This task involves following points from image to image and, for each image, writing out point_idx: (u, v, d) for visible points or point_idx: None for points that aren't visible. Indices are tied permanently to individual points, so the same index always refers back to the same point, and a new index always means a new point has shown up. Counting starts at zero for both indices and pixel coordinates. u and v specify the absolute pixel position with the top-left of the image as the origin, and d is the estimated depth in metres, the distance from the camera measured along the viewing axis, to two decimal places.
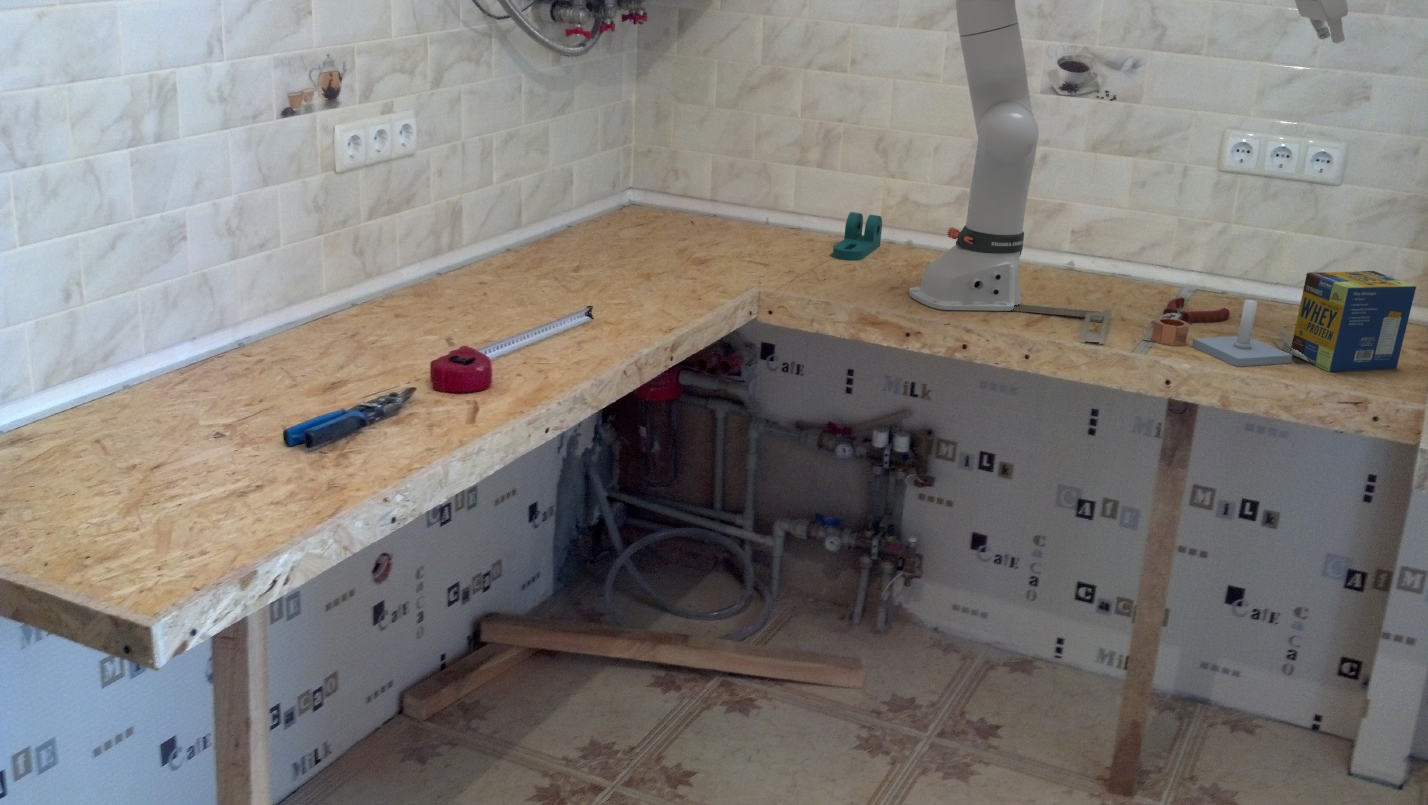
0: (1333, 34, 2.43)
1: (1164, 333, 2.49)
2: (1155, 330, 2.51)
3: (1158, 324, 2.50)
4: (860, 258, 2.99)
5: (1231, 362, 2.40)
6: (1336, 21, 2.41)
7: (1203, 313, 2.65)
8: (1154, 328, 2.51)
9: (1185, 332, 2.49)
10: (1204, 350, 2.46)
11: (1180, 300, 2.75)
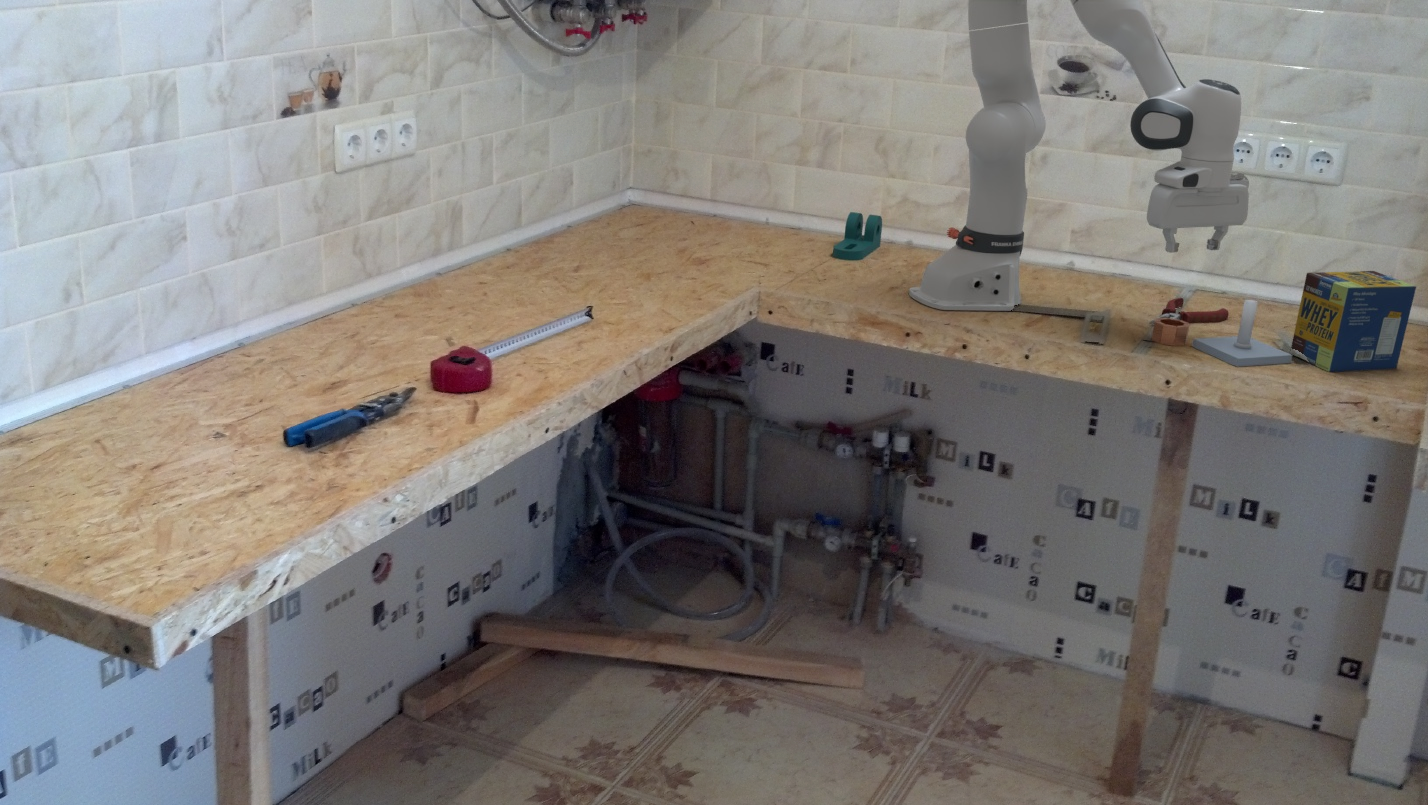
0: (1166, 241, 2.44)
1: (1164, 333, 2.49)
2: (1155, 330, 2.51)
3: (1158, 324, 2.50)
4: (860, 258, 2.99)
5: (1231, 362, 2.40)
6: (1167, 230, 2.42)
7: (1201, 313, 2.65)
8: (1154, 328, 2.51)
9: (1185, 332, 2.49)
10: (1204, 350, 2.46)
11: (1179, 300, 2.74)
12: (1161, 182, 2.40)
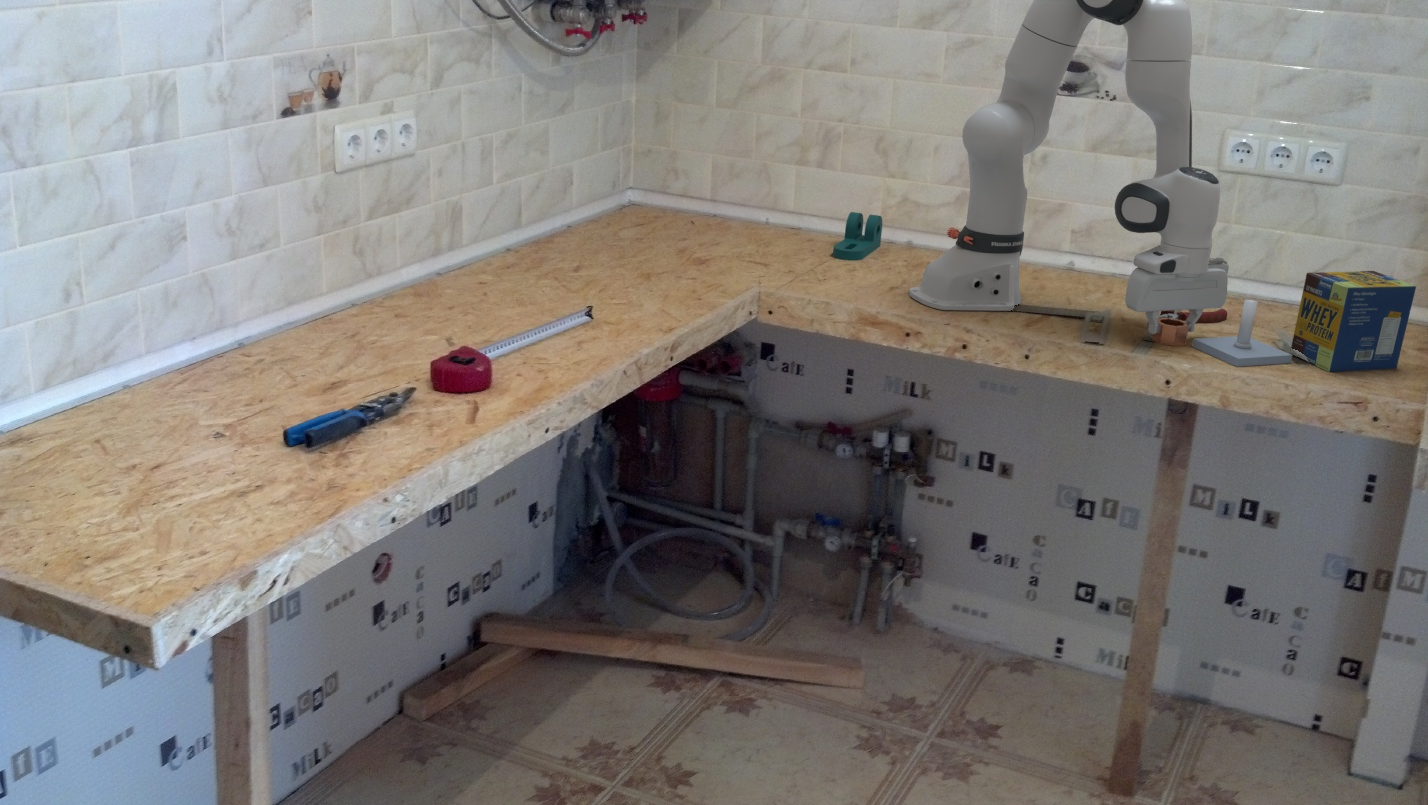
0: (1149, 322, 2.50)
1: (1164, 333, 2.49)
2: None
3: None
4: (860, 258, 2.99)
5: (1231, 362, 2.40)
6: (1150, 313, 2.48)
7: None
8: None
9: (1185, 332, 2.49)
10: (1204, 350, 2.46)
11: None
12: (1139, 266, 2.45)
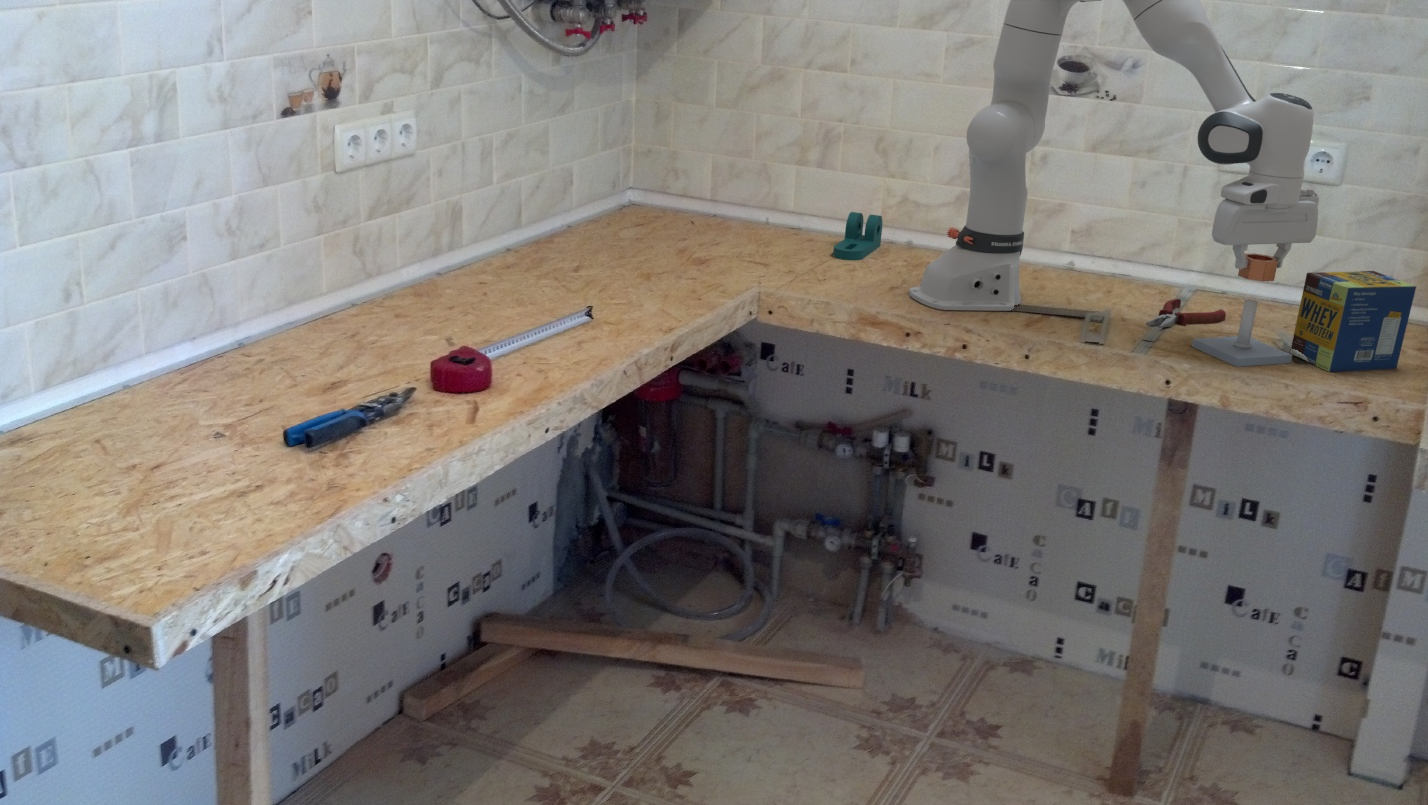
0: (1236, 257, 2.39)
1: (1252, 269, 2.38)
2: None
3: None
4: (860, 258, 2.99)
5: (1231, 362, 2.40)
6: (1237, 247, 2.37)
7: (1198, 314, 2.64)
8: None
9: (1274, 267, 2.38)
10: (1204, 350, 2.46)
11: (1176, 301, 2.74)
12: (1228, 197, 2.34)
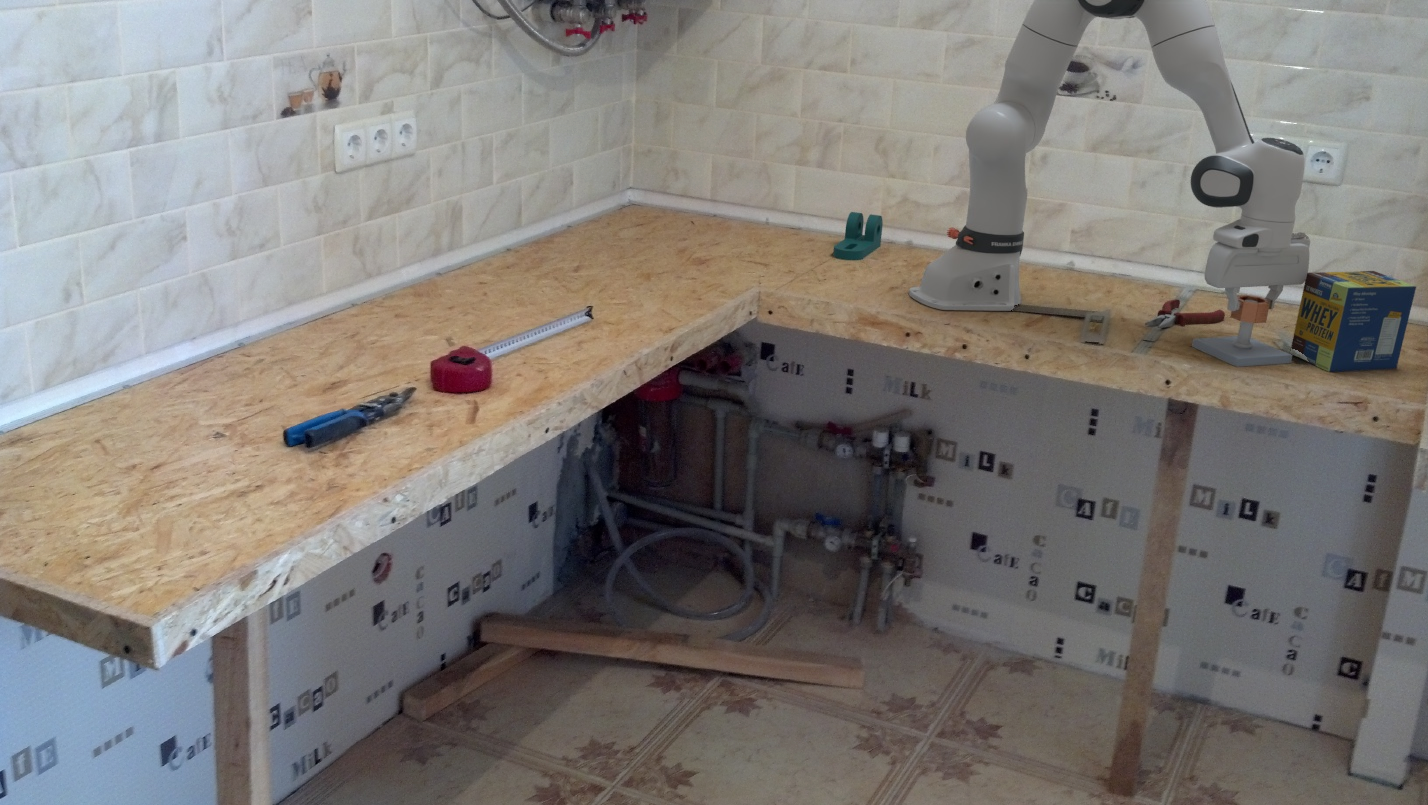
0: (1228, 299, 2.41)
1: (1244, 310, 2.40)
2: None
3: None
4: (860, 258, 2.99)
5: (1231, 362, 2.40)
6: (1229, 289, 2.40)
7: (1197, 315, 2.64)
8: None
9: (1266, 309, 2.40)
10: (1204, 350, 2.46)
11: (1175, 302, 2.73)
12: (1220, 241, 2.37)
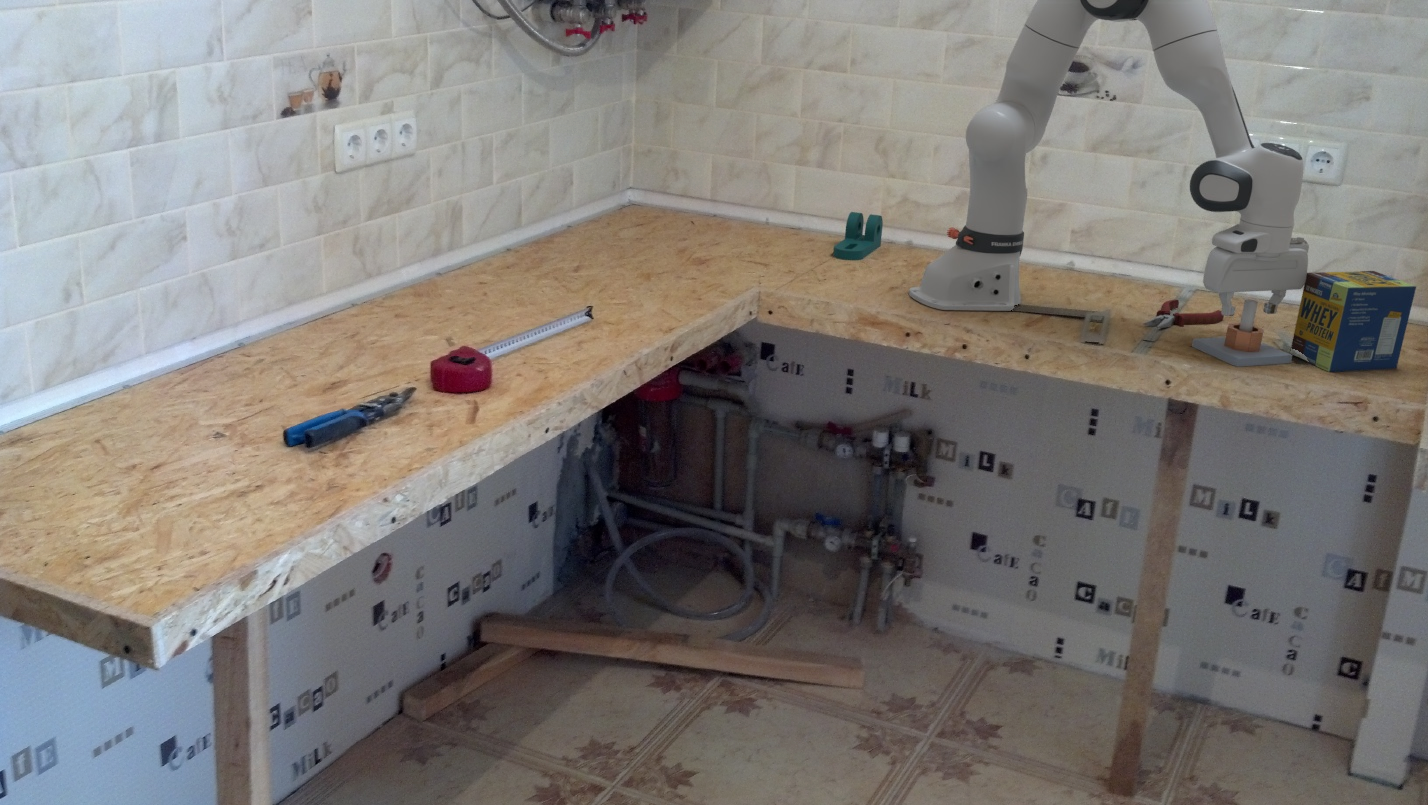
0: (1222, 304, 2.41)
1: (1238, 339, 2.42)
2: (1228, 336, 2.44)
3: (1232, 330, 2.43)
4: (861, 258, 2.99)
5: (1231, 362, 2.40)
6: (1223, 294, 2.39)
7: (1196, 315, 2.64)
8: (1227, 334, 2.44)
9: (1260, 338, 2.42)
10: (1204, 350, 2.46)
11: (1174, 302, 2.73)
12: (1219, 246, 2.37)
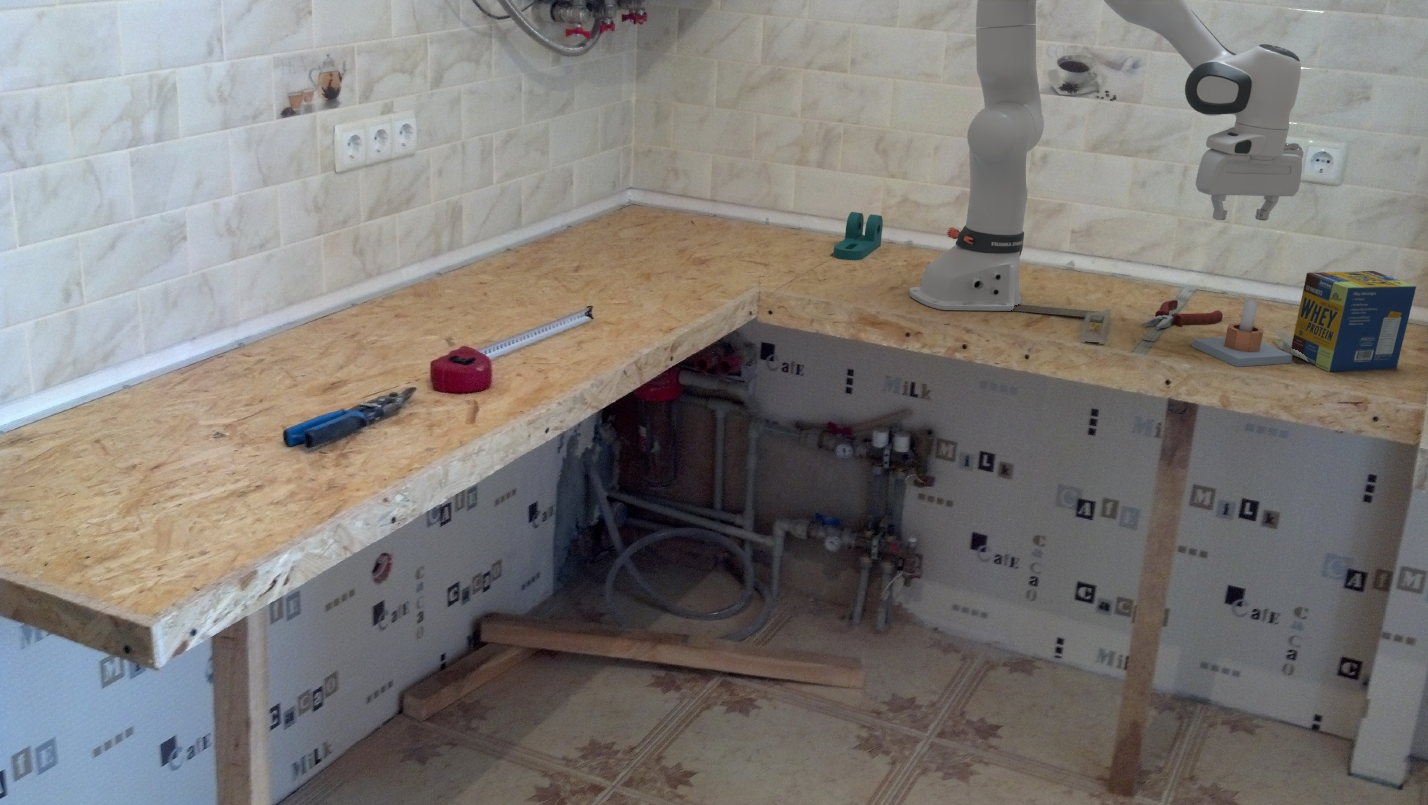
0: (1214, 208, 2.40)
1: (1238, 339, 2.42)
2: (1228, 336, 2.44)
3: (1232, 330, 2.43)
4: (861, 258, 2.99)
5: (1231, 362, 2.40)
6: (1216, 197, 2.38)
7: (1195, 315, 2.63)
8: (1227, 334, 2.44)
9: (1260, 338, 2.42)
10: (1204, 350, 2.46)
11: (1173, 302, 2.73)
12: (1213, 147, 2.35)
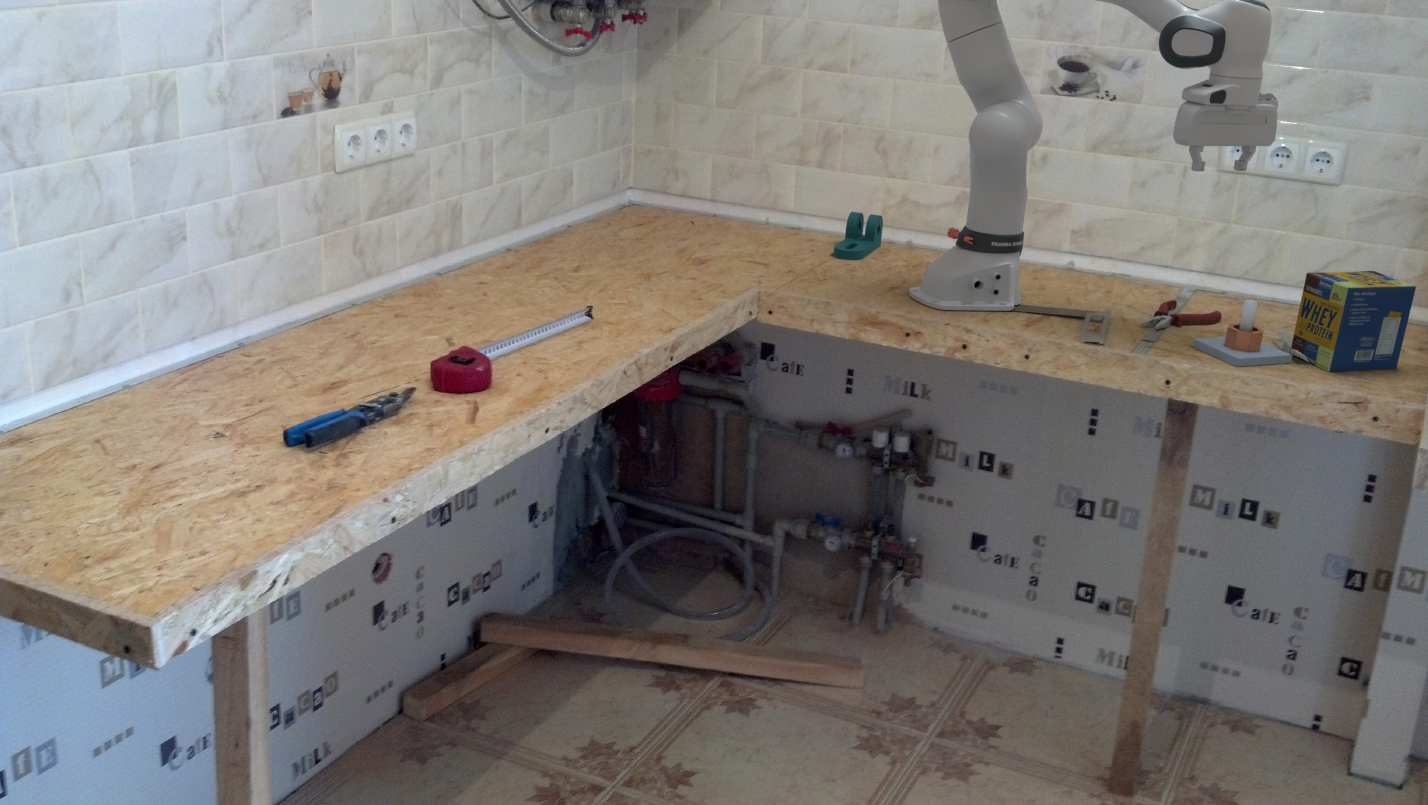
0: None
1: (1238, 339, 2.42)
2: (1228, 336, 2.44)
3: (1232, 330, 2.43)
4: (861, 258, 2.99)
5: (1231, 362, 2.40)
6: (1193, 149, 2.41)
7: (1194, 316, 2.63)
8: (1227, 334, 2.44)
9: (1260, 338, 2.42)
10: (1204, 350, 2.46)
11: (1172, 303, 2.72)
12: (1188, 99, 2.39)
